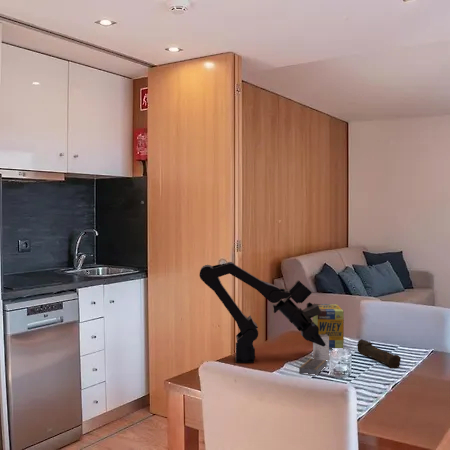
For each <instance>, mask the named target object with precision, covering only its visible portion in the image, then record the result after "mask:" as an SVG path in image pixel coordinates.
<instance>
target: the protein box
mask: <svg viewBox="0 0 450 450" xmlns="http://www.w3.org/2000/svg"><path fill="white" fill-rule="evenodd" d="M312 304H313V305H314V304H315V303H312ZM316 304H317V305H318V306H319V308H320V310H321V314H320V315H316V316H314V317H312V322H314V323H315V324H316V325H317V326H318V327H319V334H327V335H328V336H329V349H332V348H343V349H344V344H345V343H344V340H345V339H344V338H345V336H344V324H345V323H344V321H345V320H344V318H345V317H344V316H345V314H344V312H345V311H344V310H343V309H342V308H341V307H340V306H339V305H338V304H335V303H334V304H332V303H329V304H327V303H316Z"/></svg>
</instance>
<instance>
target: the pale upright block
mask: <svg viewBox="0 0 450 450" xmlns="http://www.w3.org/2000/svg"><path fill="white" fill-rule="evenodd" d="M319 335H320V337H321V338H322V340H323V341H324V343H325V344H326V345H325V346H324V347H323V346H321V345H318V344H316V343H313V342H312V359H313V358H314V359H317V360H329V361H330V350H329V336H328V335H327V334H319Z"/></svg>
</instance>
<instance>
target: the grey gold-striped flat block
mask: <svg viewBox="0 0 450 450" xmlns="http://www.w3.org/2000/svg"><path fill="white" fill-rule="evenodd" d="M326 366H327V367H328V362H327V361H326V360H317V359H313V357H312V358H311V357H310V358H309V359H308V360H306V361H305V362H304V363H303V364H301V365H300V367H299V373H308V374H315V375H317V374H318V373H319V372H320V371H321V370H322V369H323V368H324V367H326ZM327 367H326V368H327ZM299 373H298V374H299ZM319 374H320V373H319ZM319 374H318V375H319ZM318 375H317V376H318Z"/></svg>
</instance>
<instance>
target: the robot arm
mask: <svg viewBox="0 0 450 450" xmlns="http://www.w3.org/2000/svg"><path fill="white" fill-rule="evenodd" d="M226 275H231V276H233V277H235V278H236V279H238V280H240V281H241V282H243V283H245V284H246V285H248V286H249V287H251V288H253V289H255V290H256V291H257V292H258V293H259V294H261V296H262V297H264V299H266V300H268V301H269V302H270V303H272V312H273V313H274V314H277V312H278V311H279V312H280V313H281V314H282V315H283V317H284V316H285V318H286V319H287V320H288V321H289V322H290V323H291V324H292V325H294V327H295V328H296V329H297V330H298V331H299V332H300V335H301V336H302V337H303V339H304V340H305V341H309V342H310V343H312V344H313V343H316V344H318V345H321V346H323V347H324V346H325V345H326V344H325V343H324V341H323V340H322V338H321V337H320V335H319V327H318V326H317V325H316V324H315V323H314V322H313V317H314V316H316V315H320V314H321V310H320V308H319V306H318V305H317V304H318V303H312V302H307V303H306V306H305V308H304V309H302V308H301V307H298V306H297V304H300V303H301V304H302V303H304V302H305V301H306V299H308V298H309V297H310V296H311V294H312V291H311V290H310V289H309V288H308V287H307V286H306V285H305V284H303V283H302V282H301V280H296V281H295V283H294V284H293V285H292V286H291V287H290V288H289V289H286V288H280V287H279V286H277V285H276V284H273V283H270V282H268V281H264V280H262V279H259V278H258V277H256V276H255V275H253V274H251V273H250V272H248V271H247V270H245V269H243V268H241V267H240V266H238V265H236V264H235V262H232V261H228V262H225V263H221V264H215V265H210V264H205V265H203V266H202V267H201V268H200V270H199V278H200V280H201V281H202V282H203V283H204V284H205V285H206V286H207V287H208V288H210V289H211V290H212V291H213V292H214V294H215V295H216V297H218V298H219V300H220V301H221V303H222V305H223V306H224V307H225V308H226V310H227V312H228V313H229V314H230V315H231V317H232V318H233V321H235V322H236V325H237V327H238V329H239V332H238V333H236V335H235V338H236V342H235V358H234V359H235V363H237V364H238V363H239V364H241V363H243V364H247V363H249V364H250V363H252V364H253V363H255V359H256V348H255V346H254V341H256V340H257V339H258V337H259V330H258V327H259V326H258V324H257V323H256V322H255V321H254V319H253V318H252V316H251V315H249V316H246V315H245V314H244V313H243V312H242V310H241V309H240V307H239V306H238V305H237V303H236V302H235V300H234V299H233V298H232V296H231V295H230V294H229V292H228V291H227V289H226V288H225V287H224V285H223V283H222V282H221V280H220V277H223V276H226ZM291 299H292V300H291ZM293 301H294V302H293ZM295 303H296V304H295ZM313 304H314V305H313Z"/></svg>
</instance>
